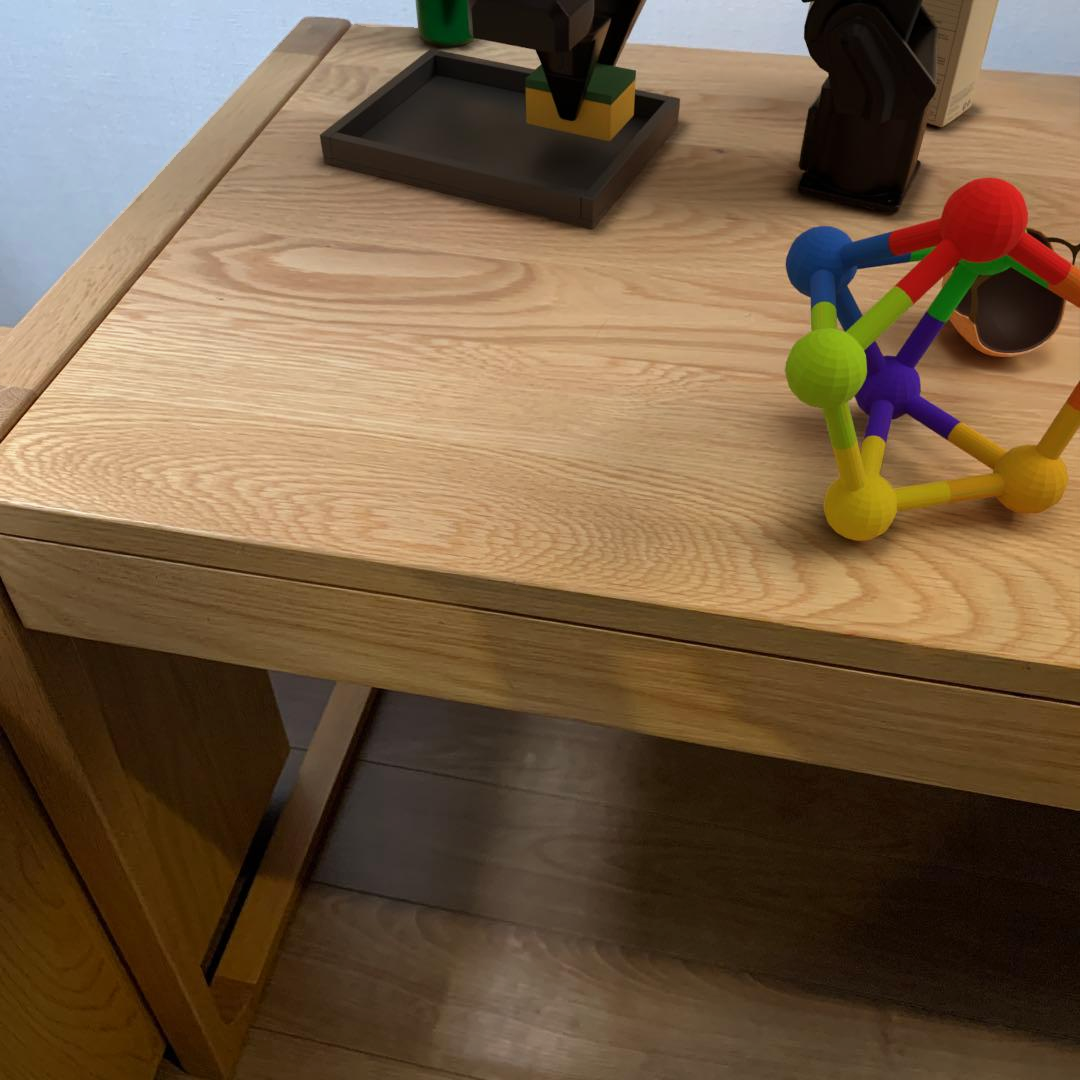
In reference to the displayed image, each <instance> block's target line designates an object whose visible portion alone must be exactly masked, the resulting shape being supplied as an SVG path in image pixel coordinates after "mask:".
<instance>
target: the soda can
mask: <svg viewBox="0 0 1080 1080" xmlns="http://www.w3.org/2000/svg"><path fill="white" fill-rule="evenodd" d="M414 1H415V8H416V9H415V11H416V20H417V21H416V22H417V31H418V33H419V35H420V36H421V37H422V38H423V39H424V40H425V41H426V42H427V43H429V44H430V45H433V46H434V45H435V46H438V47H445V48H446V47H447V48H451V47H459V46H460V47H461V46H464V45H467V44H470V43H471V42H473V41H475V40H476V38H473V37H472V35H471V34H470V33H469V19H468V3H467V0H414Z"/></svg>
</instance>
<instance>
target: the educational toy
mask: <svg viewBox="0 0 1080 1080" xmlns="http://www.w3.org/2000/svg"><path fill="white" fill-rule="evenodd" d="M1028 223H1029V212H1028V208H1027V204H1026V199H1025V197H1024V196H1023V193H1022V192H1021V191H1020V190H1019V189H1018V188H1017V187H1016V186H1015V185H1013V184H1012V183H1010V182H1009V181H1007V180H1005V179H1001V178H997V177H981V178H976V179H973V180H971V181H968V182H966V183H965V184H963V185H961V186H960V187H958V188H957V189H956V190H955V191H953V192H952V193H951V195H950V196H949V197H948V198H947V200H946V202H945V204H944V206H943V209H942V213H941V215H940V217H939V218H936V219H932V220H928V221H925V222H920V223H917V224H913V225H909V226H906V227H903V228H899V229H895V230H891V231H889V232H884V233H881V234H877V235H873V236H870V237H866V238H861V239H859V240H855V241H853V240H852V238H851V237H850V236H849V235H848V234H847V233H846V232H844V231H843V230H841V229H839V228H838V227H835V226H831V225H819V226H813V227H810V228H809V229H807V230H805V231H804V232H801V233H800V234H799V235H798V236H796V237H795V239H794V240H793V241H792V243H791V245H790V248H789V250H788V252H787V255H786V257H785V264H784V265H785V271H786V275H787V278H788V280H789V282H790V285H792V286H793V288H795V290H796V291H797V292H798V293H800V294H801V295H804V296H806V297H808V298H810V327H811V328H810V329H811V330H810V331H809V332H807V334H805V335H804V336H802V337H801V338H799V339H797V340H796V341H795V343H794V344H793V345H792V347H791V348H790V351H789V353H788V356H787V360H786V361H785V366H784V373H785V378H786V382H787V385H788V387H789V389H790V391H791V393H792V394H793V395H794V396H795V397H796V398H797V399H798V400H799V401H800V402H801V403H804V404H805V405H807V406H809V407H812V408H816V409H822V413H823V417H824V421H825V424H826V429H827V433H828V436H829V440H830V444H831V447H832V452H833V456H834V459H835V463H836V467H837V470H838V474H839V477H837V478H836V479H835V480H834V481H833V482H832V483H831V484H830V485H829V487H828V488H827V490H826V494H825V497H824V501H823V512H824V515H825V518H826V522H827V524H828V525H829V526H830V528H831V529H832V530H833V531H834V532H835V533H836V534H838V535H839V536H842V537H843V538H846V539H848V540H852V541H855V542H856V541H857V542H859V541H860V542H861V541H870V540H872V539H875V538H877V537H878V536H880V535H882V534H884V533H885V532H887V531H888V529H889V527H890V526H891V525H892V523H893V521H894V519H895V518H896V515H897V513H898V512H902V511H910V510H917V509H922V508H928V507H929V508H930V507H934V506H941V505H948V504H953V503H962V502H966V501H973V500H979V499H986V498H993V497H996V499H997V500H998V501H999V502H1000V503H1001V504H1002V505H1003V506H1004V507H1005V508H1006V509H1009V510H1010V511H1013V512H1015V513H1019V514H1022V515H1023V514H1024V515H1033V514H1034V515H1035V514H1041V513H1043V512H1046V511H1048V510H1050V509H1051V508H1053V507H1054V506H1056V505H1057V504H1058V503H1059V502H1060V501H1061V499H1062V498H1063V496H1064V494H1065V492H1066V490H1067V487H1068V485H1069V474H1068V469H1067V465H1066V463H1065V462H1064V460H1063V459H1062V458H1061V455H1062V454H1063V452H1064V451H1065V449H1066V448H1067V446H1068V445H1069V444H1070V442H1071V441H1072V439H1073V437H1074V436H1075V435H1076V433H1077V431H1078V430H1079V429H1080V380H1079V381H1078V383H1077V384H1076V385H1075V387H1074V389H1073V390H1072V392H1071V393H1070V395H1069V396H1068V397H1067V399H1066V400H1065V402H1064V403H1063V405H1062V407H1061V408H1060V409H1059V411H1058V413H1057V414H1056V415H1055V418H1054V419H1053V421H1052V422H1051V424H1050V425H1049V427H1048V428H1047V429H1046V431H1045V433H1044V434H1043V436H1042V438H1041V439H1040V440H1039V441H1038V443H1037V444H1033V443H1028V444H1027V443H1026V444H1022V445H1019V446H1015V447H1012V448H1010V449H1009V450H1006V449H1005V448H1004V447H1002V446H1000V445H998V444H997V443H995V442H994V441H992V440H991V439H989V438H988V437H986V436H985V435H983V434H981V433H980V432H978V431H976V430H975V429H973V428H972V427H971V426H968V425H967V424H965V423H964V422H962V421H961V420H959V419H958V418H956V417H955V416H953V415H951V414H950V413H948V412H946V411H944V410H943V409H942V408H940V407H938V406H936V405H935V404H934V403H932V402H931V401H929V400H927V399H926V398H924V397H922V396H921V392H922V387H921V386H922V385H921V377H920V373H919V372H918V371H917V369H916V366H917V365H918V364H919V362H920V360H921V359H922V358H923V356H924V355H925V354H926V352H927V351H928V349H929V347H931V345H932V343H933V342H934V340H935V339H936V338H937V336H938V334H939V333H940V332H941V331H942V329H943V328H944V326H945V324H946V323H947V322H948V320H950V319H949V317H950V316H951V314H952V313H953V311H954V310H955V309H956V307H957V306H958V304H959V303H960V301H961V300H962V299H963V297H964V296H965V294H966V293H967V291H968V290H969V288H970V287H971V286H972V284H973V283H974V281H975V280H976V278H977V277H978V276H979V275H994V274H997V273H1000V272H1002V271H1005V270H1007V269H1008V268H1010V267H1012V268H1013V269H1015V270H1017V271H1018V272H1020V273H1022V274H1023V275H1025V276H1027V277H1028V278H1030V279H1032V280H1033V281H1035V282H1037V283H1038V284H1040V285H1042V286H1043V287H1045V288H1047V289H1048V290H1050V291H1052V292H1053V293H1055V294H1057V295H1058V296H1060V297H1062V298H1064V299H1065V300H1066V302H1069V303H1070V304H1072V305H1074V306H1075V307H1077V308H1078V309H1080V268H1079V267H1077V266H1076V265H1075V264H1074V265H1073V264H1072V262H1070V261H1068V260H1067V259H1065V258H1064V257H1062V256H1061V255H1059V253H1057V252H1056V251H1055V250H1054V251H1055V252H1054V251H1052V250H1051V249H1050V248H1048V247H1047V246H1045V245H1044V244H1042V243H1041V242H1040V241H1038V240H1037V239H1035V238H1034V237H1032V236H1031V235H1029V234H1028V233H1027V230H1026V227H1028ZM914 262H918V263H917V264H916V265H915V266H914V267H913V268H912V269H910V270H909V272H907V273H906V274H905V275H904V276H903V277H902V278H901V279H900V280H899V281H898V282H897V283H896V284H894V286H893V287H892V288H891V289H890V290H888V291H887V292H886V293H885V294H884V295H883V296H882V297H881V298H879V300H878V301H877V302H876V303H875V304H873V305H872V306H871V307H870V308H869V309H868V310H867V311H866V312H865V313H864V314H863V313H862V312H861V310H860V308H859V306H858V304H857V302H856V300H855V298H854V296H853V294H852V292H851V290H850V288H849V285H850V283H851V282H852V281H853V280H854V278H855V276H856V274H857V272H858V270H864V269H870V268H877V267H878V268H879V267H885V266H892V265H899V264H908V263H914ZM958 262H959V264H958V266H957V267H956V268H955V270H954V271H953V273H952V274H951V276H950V277H949V279H948V280H947V282H946V283H945V285H944V286H943V288H942V287H941V289H940V291H939V292H938V293H937V295H936V297H934V299H933V301H932V302H931V304H930V305H929V307H928V308H927V310H926V311H925V312H924V314H923V315H922V317H921V318H920V319H919V321H918V323H917V324H916V326H915V327H914V329H913V330H912V332H911V333H910V335H909V336H908V337H907V339H906V341H904V343H903V344H902V346H901V348H900V349H899V350H898V352H897V353H896V355H883V353H882V351H881V348H880V346H879V345H878V343H877V340H878V338H879V337H881V335H883V334H884V333H885V332H886V331H887V330H888V329H889V328H890V327H891V326H892V325H893V324H894V323H895V322H896V321H898V320H899V319H900V318H901V317H902V316H903V315H904V314H905V313H906V312H907V311H909V309H910V308H912V307H913V305H915V304H916V303H917V302H918V301H920V299H921V298H922V297H923V296H924V295H925V294H926V293H928V292H929V291H930V290H931V289H932V288H933V287H934V286H935V285H936V284H937V283H938V282H940V280H941V279H943V277H944V275H946V274H947V273H948V272H949V271H950V270H951V269H952V268H953V267H954V266H955V265H956V264H957V263H958ZM838 322H839V324H840V326H841V328H842V330H841V329H838ZM853 398H854V399H855V402H856V404H857V406H858V407H859V409H860V410H861V411H862V412H863V413H865V415H867V416H868V418H867V424H866V427H865V431H864V435H863V439H862V443H861V449H860V447H859V443H858V438H857V433H856V431H855V425H854V422H853V418H852V417H853V416H852V414H851V409H850V404H849V401H852V400H853ZM905 415H907V416H909V417H910V418H912V419H914V420H915V421H917V422H918V423H920V424H921V425H923V426H925V427H926V428H927V429H929V430H930V431H932V432H934V433H935V434H937V435H938V436H940V437H941V438H943V439H945V441H948V442H949V443H951V444H952V445H954V446H955V447H957V448H958V449H960V450H962V451H963V452H964V453H966V454H967V455H969V456H971V457H972V458H974V459H976V460H977V461H978V462H980V463H982V464H983V465H985V466H986V467H988V468H989V469H990V470H992V472H991V473H985V474H979V475H973V476H966V477H960V478H959V477H958V478H954V479H953V478H951V479H946V480H940V481H933V482H927V483H922V484H921V483H920V484H915V485H914V484H913V485H907V486H901V487H894V488H893V487H892V484H890V482H889V481H888V480H887V479H886V478H884V477H883V476H882V475H880V473H881V469H882V465H883V464H882V463H883V460H884V455H885V450H886V446H887V441H888V437H889V433H890V429H891V423H892V421H893V420H897V419H899V418H901V417H903V416H905Z"/></svg>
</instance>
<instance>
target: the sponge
mask: <svg viewBox="0 0 1080 1080" xmlns="http://www.w3.org/2000/svg"><path fill="white" fill-rule="evenodd" d="M636 79H637V70H636V69H632V68H631V69H630V68H626V67H621V66H617V65H616V66H611V65H605V64H600V63H596V66H595V69H594V72H593V74H592V77H591V80H590V83H589V86H588V89H587V92H586V95H585V98H584V101H583V103H582V106H581V109H580V111H579V114H578V117H577V118H576V120H575V121H568V120H563V119H561V118H560V117H559V115H558V112H557V109H556V106H555V103H554V100H553V97H552V94H551V91H550V88H549V85H548V82H547V79H546V76H545V74H544V71H543V68H542V65H541V64H540V65H538V67H536V68H535V70H534V71H533V72H532V73H531V74H530V75H529V76H528V77H527V78H526V79H525V83H526V122H527V124H531V125H536V126H541V127H545V128H550V129H554V130H559V131H564V132H568V133H573V134H577V135H582V136H587V137H591V138H596V139H601V140H605V141H611V140H612V139H613V137H614V136H615V135H616V134H617V133H618V132H619V131H620V130H621V129H622V128H623V126H624V125H625V124H626V123H627V122H628V121H629V120H630V119H631V118H632V117H633V115H634V100H635V89H636Z"/></svg>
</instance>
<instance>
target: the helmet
mask: <svg viewBox="0 0 1080 1080" xmlns="http://www.w3.org/2000/svg"><path fill="white" fill-rule="evenodd" d="M1026 230H1027V233H1028V234H1029V235H1031V236H1032V237H1034V238H1035V239H1037V240H1038V241H1040V242H1041V243H1042V244H1044V245H1045V246H1047V247H1048V248H1050V249H1051V250H1052V251H1054V252H1055V253H1056V251H1055V248H1054V246H1053V244H1052V243H1057V244H1061V245H1064V246H1065V247H1066V248H1068V249H1069V250H1070V252H1071V254H1072V262H1071V264H1073V265H1074V266H1075V263H1076V259H1077V257H1078V254H1079V253H1080V243H1078V244H1076V245H1074V244H1072V243H1071V242H1069V241H1068V240H1065V239H1064V238H1061V237H1055V236H1048V235H1047V234H1046V233H1045V232H1043V231H1042V230H1041V229H1038V228H1034V227H1031V226H1027V227H1026ZM958 264H959V262H958V263H957V264H956V265H955V266H954V267H953V268H952V269H951V270H950V271H949V272H948V273H947V274H946V275H944V276H943V277H942V282H941V289H942V288H943V286H944V285H945V283H946V282H947V280H948V279H949V277H950V276H951V274H952V273H953V271H954V270H955V268H956V267H957V266H958ZM1066 304H1067V300H1065V299H1064V298H1062V297H1060V296H1058V295H1057V294H1055V293H1053V292H1052V291H1050V290H1048V289H1047V288H1045V287H1043V286H1042V285H1040V284H1038V283H1037V282H1035V281H1033V280H1032V279H1030V278H1028V277H1027V276H1025V275H1023V274H1022V273H1020V272H1018V271H1017V270H1015V269H1013V268H1012V267H1010V268H1008V269H1007V270H1005V271H1002V272H1000V273H997V274H994V275H979V276H978V277H977V278H976V280H975V281H974V283H973V284H972V286H971V287H970V288H969V290H968V291H967V293H966V294H965V296H964V297H963V299H962V300H961V301H960V303H959V304H958V306H957V307H956V309H955V310H954V311H953V313H952V314H951V316H950V317H949V319H948V320H949V321H950V322H951V324H952V325H953V327H954V328H955V330H957V332H958V333H959V334H960V336H961V337H962V338H963V339H964V340H965V341H966V342H967V343H969V345H971V346H972V348H975V349H976V350H977V351H979V352H981V353H982V354H985V355H987V356H992V357H1001V358H1011V357H1019V356H1022V355H1025V354H1028V353H1031V352H1033V351H1035V350H1037V349H1039V348H1040V347H1042V346H1044V345H1045V344H1046V343H1048V342H1049V341H1050V340H1051V339H1052V338H1053V337H1054V336H1055V335H1056V334H1057V332H1058V331H1059V330H1060V328H1061V325H1062V322H1063V318H1064V314H1065V310H1066V306H1067V305H1066Z"/></svg>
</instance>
